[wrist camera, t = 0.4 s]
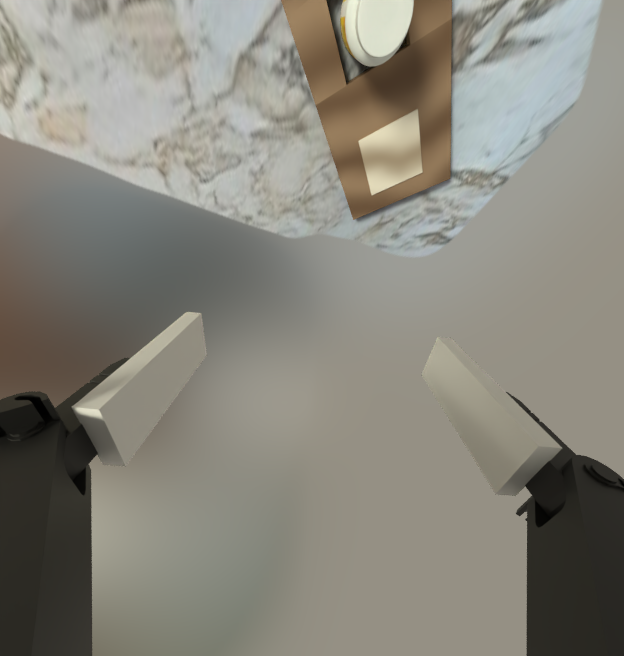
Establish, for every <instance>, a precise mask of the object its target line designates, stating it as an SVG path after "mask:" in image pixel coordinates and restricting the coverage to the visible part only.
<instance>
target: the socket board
mask: <svg viewBox="0 0 624 656" xmlns="http://www.w3.org/2000/svg"><path fill="white" fill-rule="evenodd" d="M281 1H282V4H283V7H284V10H285V13H286V16H287V19H288V22H289V25H290V28H291V31H292V34H293V37H294V40H295V44H296V47H297V50H298V53H299V56H300V59H301V62H302V65H303V68H304V71H305V74H306V77H307V80H308V83H309V86H310V89H311V92H312V95H313V98H314V101H315V104H316V107H317V110H318V114H319V117H320V120H321V123H322V126H323V129H324V132H325V135H326V138H327V141H328V144H329V147H330V150H331V153H332V156H333V159H334V162H335V165H336V168H337V171H338V174H339V177H340V180H341V183H342V187H343V190H344V193H345V196H346V199H347V202H348V205H349V208H350V211H351V214H352V217H353V220H354V219H357V218H359V217H361V216H364V215H366V214H368V213H371V212H373V211H375V210H378V209H380V208H382V207H385V206H387V205H389V204H392V203H394V202H396V201H399V200H401V199H403V198H406V197H408V196H411V195H413V194H415V193H418V192H420V191H422V190H425V189H427V188H429V187H432V186H434V185H436V184H439V183H441V182H443V181H446V180H448V179H450V160H451V38H452V0H414V6H413V14H412V19H411V23H410V26H409V29H408V31H407V34H406V44H407V45H405V46H403V47H402V48H400V49H399V50H397V51H396V53H395V54H394V55H393V56H392V57H391V58H390V59H389V60H387V61H386V62H385V63H383V64H381V65H378V66H372V67H371V68H369V69H368V70H366V71H364V72H363V73H361V74H360V75H358V76H357V77H355V78H354V79H352V80H350V81H349V82H347V83H346V81H345V76H344V72H343V68H342V64H341V60H340V55H339V51H338V47H337V43H336V39H335V35H334V30H333V26H332V22H331V18H330V14H329V10H328V5H327V1H326V0H281Z"/></svg>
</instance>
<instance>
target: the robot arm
mask: <svg viewBox="0 0 624 656" xmlns="http://www.w3.org/2000/svg"><path fill="white" fill-rule="evenodd" d="M206 356H207V352H206V345H205V338H204V331H203V323H202V316H201V313H193V312H186V313H185V314H184V315H182V316H181V317H180V318H179V319H178V320H176V321H175V322H174V323H173V324H171V325H170V326H169V327H168V328H167V329H166V330H164V331H163V332H162V333H161V334H159V335H158V336H157V337H156V338H155V339H153V340H152V341H151V342H150V343H149V344H147V345H146V346H145V347H144V348H142V349H141V350H140V351H139V352H138V353H136V354H135V355H134V356H133V357H132V358H124V359H122V360H120V361H118V362H116V363H114V364H112V365H110V366H109V367H107V368H106V369H105V370H103V371H102V372H101V373H100V374H99V376H96V377H94V378H93V379H92V380H91V381H90V383H87V384H86V385H84V386H83V387H82V388H80V389H79V390H78V391H77V392H75V393H74V394H73V395H71V396H70V397H69V398H67V399H66V400H65V401H64V402H62V403H61V404H60V405H58V406H57V407H56V408H54V406H53V405H52V403H51V401H50V400H49V398H48V396H47V395H46V394H44V393H42V392H25V393H20V394H16V395H13V396H10V397H7V398H4V399H1V400H0V656H92V563H91V561H92V560H91V559H92V558H91V557H92V549H91V548H92V547H91V469H90V467H89V465H88V464H89V463H90V462H91V460H92V459H93V458H94V457H95V456H96V455H98V457H99V458H100V460H101V462H102V464H104V465H114V466H126V465H127V464H128V463H129V461H130V460H131V459H132V457H133V456H134V454H135V453H136V452H137V450H138V449H139V448H140V446H141V445H142V443H143V442H144V441H145V439H146V438H147V437H148V435H149V434H150V432H151V431H152V430H153V428H154V427H155V425H156V424H157V423H158V422H159V420H160V419H161V417H162V416H163V415H164V413H165V412H166V411H167V409H168V408H169V406H170V405H171V404H172V402H173V401H174V400H175V398H176V397H177V395H178V394H179V393H180V391H181V390H182V389H183V387H184V385H185V384H186V383H187V382H188V380H189V379H190V378H191V376H192V375H193V373H194V372H195V371H196V369H197V368H198V367H199V365H200V364H201V362H202V361H203V360H204V358H205V357H206ZM422 376H423V378H424V380H425V381H426V383H427V385H428V386H429V388H430V389H431V391H432V393H433V394H434V396H435V397H436V399H437V401H438V402H439V404H440V405H441V407H442V409H443V410H444V412H445V414H446V415H447V417H448V418H449V420H450V422H451V423H452V425H453V427H454V428H455V430H456V431H457V433H458V434H459V436H460V438H461V439H462V441H463V443H464V444H465V446H466V447H467V449H468V451H469V452H470V454H471V455H472V457H473V459H474V460H475V462H476V464H477V465H478V467H479V468H480V470H481V472H482V473H483V475H484V476H485V478H486V480H487V481H488V483H489V485H490V486H491V488H492V489H493V491H494V493H495V494H498V495H512V496H516V495H517V494H518V493H519V492H520V491H521V490H522V489H523V488H524V487H525V486H526V488H527V489H528V490H529V492H530V493H531V494H532V496H531V497H530V498H529V499H528V500H527V501H526V502H525V503H524V504H523V505H522V506H521V507H520V508H519V509H518V510H517V513H516V514H517V515H519V516H521V515H522V514H523V513H524V512H527V518H526V521H527V656H624V479H623V478H622V477H621V476H619V475H618V474H617V473H616V472H614V471H613V470H611V469H610V468H608V467H607V466H605V465H604V464H602V463H600V462H598V461H596V460H594V459H591V458H589V457H587V456H581V455H576V454H575V453H574V452H573V451H572V450H571V449H569V448H568V447H567V446H566V445H565V444H564V443H563V442H562V441H561V440H560V439H559V438H558V437H557V436H556V435H555V434H554V433H553V432H552V431H551V430H550V429H549V428H548V427H547V426H545V424H544V423H542V422H540V421H539V419H538V418H537V417H536V416H535V415H534V414H533V413H531V411H530V410H529V409H528V408H527V407H526V406H525V405H524V404H523V403H522V402H521V401H519V400H518V399H516V398H515V397H513V396H511V395H510V394H509V393H507V392H505V391H504V390H503V389H502V388H501V387H500V386H499V385H498V384H497V383H496V382H495V381H494V380H493V379H492V378H491V377H490V376H489V375H488V374H487V373H486V372H485V371H484V370H483V369H482V368H481V367H480V366H479V365H478V364H477V363H476V362H475V361H474V360H473V359H472V358H471V357H470V356H469V355H468V354H467V353H466V352H464V350H463V349H462V348H460V346H459V345H458V344H457V343H455V341H453V340H452V339H451V338H446V337H437V340H436V342H435V344H434V347H433V349H432V351H431V354H430V356H429V358H428V361H427V363H426V366H425V368H424V370H423V373H422Z"/></svg>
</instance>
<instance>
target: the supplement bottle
mask: <svg viewBox="0 0 624 656" xmlns="http://www.w3.org/2000/svg"><path fill="white" fill-rule="evenodd" d="M413 6H414V0H343V3H342V8H341V16H340V27H341V34H342V39H343V42H344V44H345V47H346V49H347V50H348V52H349V53H350V54H351V55H352V56H353V57H354V58H355V59H356V60H357V61H359V62H360V63H361V64H363V65H366V66H378V65H381V64H383V63H385V62H386V61H387V60H389V59H390V58H391V57H392V56H393V55H394V54H395V53H396V51H397V50H398V49H399V47H400V46H401V44H402V42H403V40H404V38H405V36H406V34H407V31H408V29H409V26H410V23H411V19H412V14H413Z"/></svg>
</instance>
